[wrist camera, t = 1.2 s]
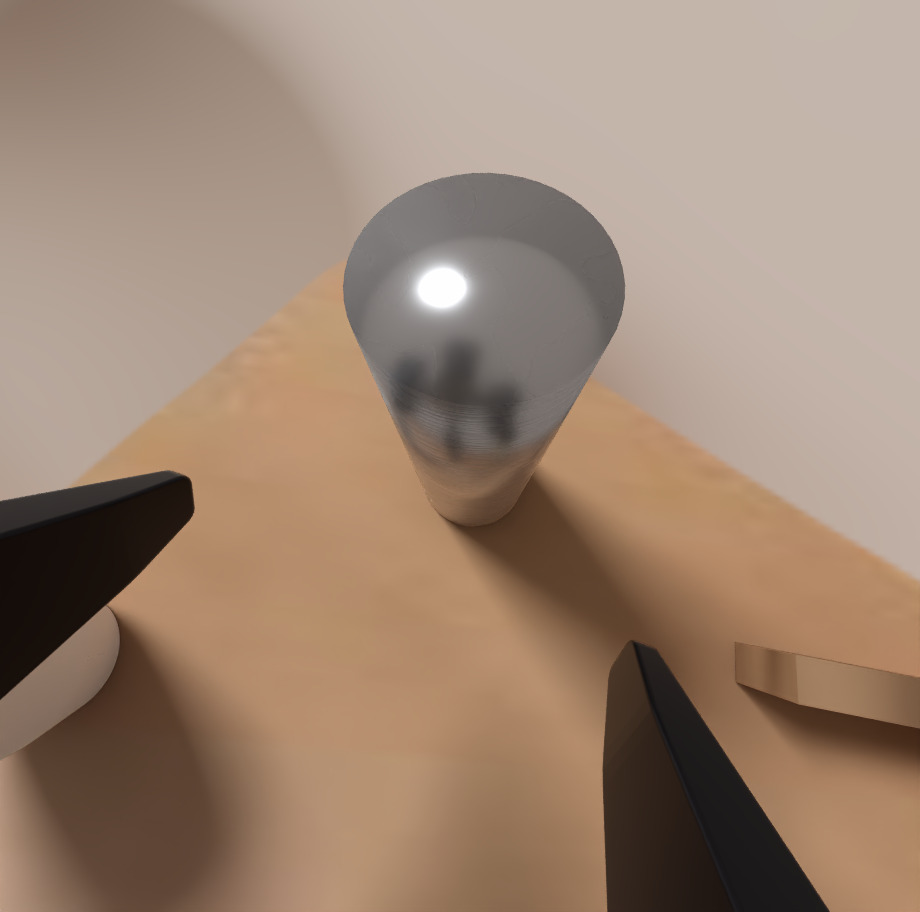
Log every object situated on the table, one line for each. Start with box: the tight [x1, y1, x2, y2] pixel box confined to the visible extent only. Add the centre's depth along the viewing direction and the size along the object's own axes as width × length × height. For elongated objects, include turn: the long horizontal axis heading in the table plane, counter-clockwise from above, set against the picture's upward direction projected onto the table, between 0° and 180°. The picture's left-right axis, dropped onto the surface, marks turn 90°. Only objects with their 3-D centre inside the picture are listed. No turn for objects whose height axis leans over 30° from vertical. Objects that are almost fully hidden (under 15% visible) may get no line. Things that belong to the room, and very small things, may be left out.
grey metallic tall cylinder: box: [343, 173, 625, 526], centre depth 14 cm, size 5×5×14 cm
